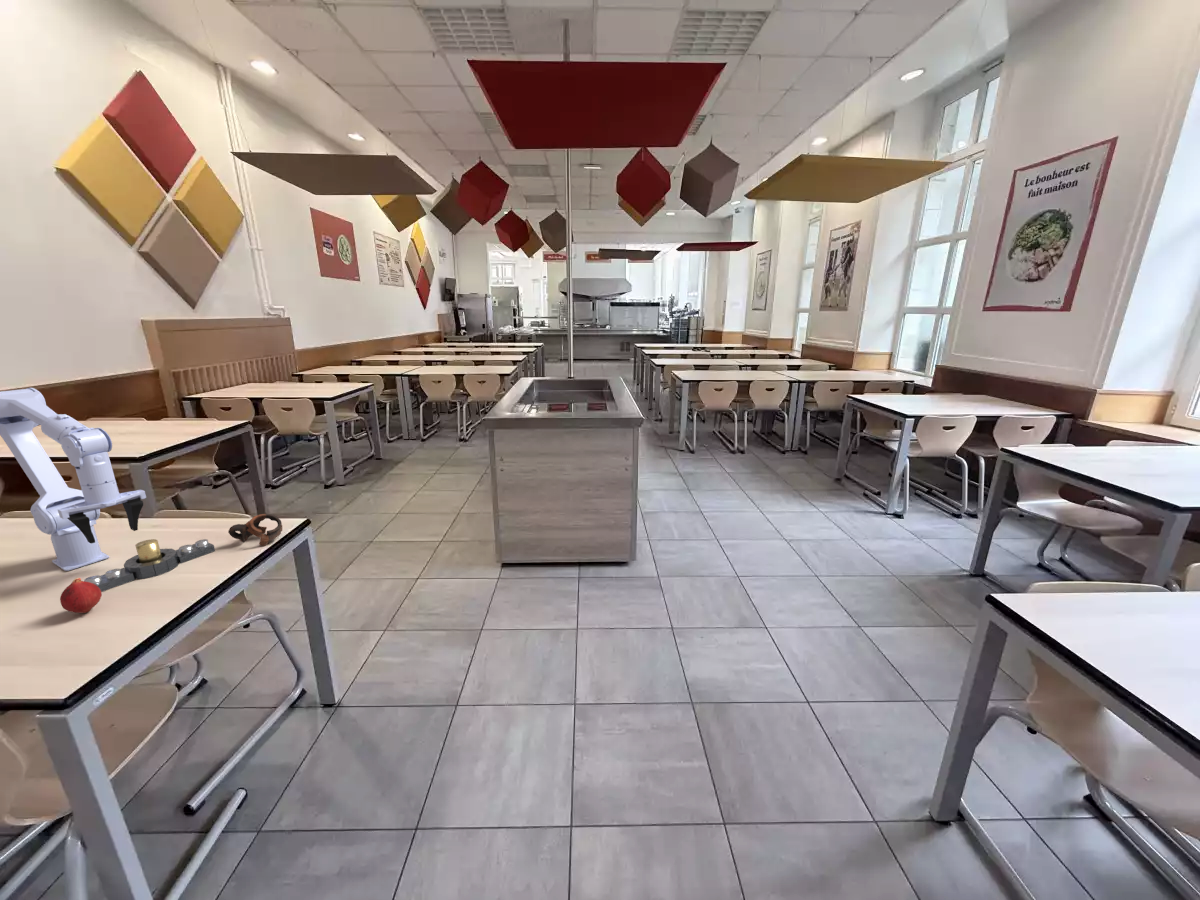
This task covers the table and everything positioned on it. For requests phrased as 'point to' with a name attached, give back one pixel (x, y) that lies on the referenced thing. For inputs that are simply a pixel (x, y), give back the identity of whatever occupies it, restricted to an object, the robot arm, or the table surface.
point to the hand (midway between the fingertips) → (113, 535)
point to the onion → (80, 596)
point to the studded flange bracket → (151, 565)
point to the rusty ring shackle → (256, 529)
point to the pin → (148, 551)
